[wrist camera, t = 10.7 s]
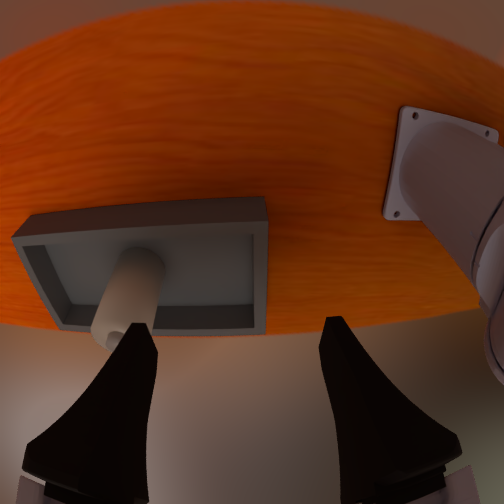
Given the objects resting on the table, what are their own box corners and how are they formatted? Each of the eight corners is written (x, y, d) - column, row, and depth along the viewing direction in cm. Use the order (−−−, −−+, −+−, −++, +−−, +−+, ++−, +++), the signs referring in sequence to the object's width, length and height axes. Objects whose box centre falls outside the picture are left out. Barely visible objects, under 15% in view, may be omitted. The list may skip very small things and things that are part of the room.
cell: (160, 246, 19) (136, 328, 14) (169, 285, 22) (154, 365, 16) (112, 248, 19) (78, 325, 14) (125, 286, 21) (101, 362, 16)
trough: (263, 196, 18) (268, 221, 16) (262, 305, 24) (265, 334, 22) (30, 215, 18) (10, 237, 15) (71, 305, 24) (59, 329, 21)
